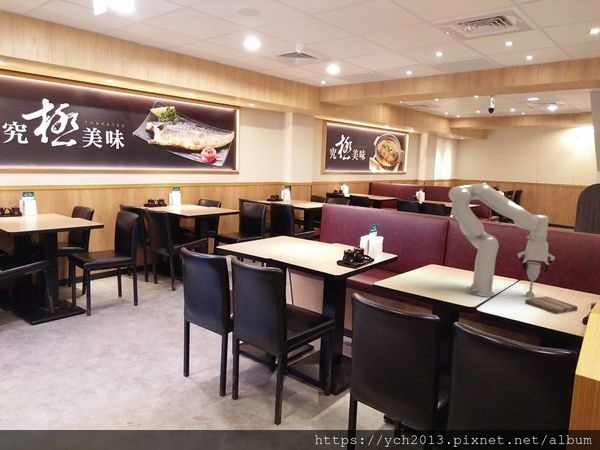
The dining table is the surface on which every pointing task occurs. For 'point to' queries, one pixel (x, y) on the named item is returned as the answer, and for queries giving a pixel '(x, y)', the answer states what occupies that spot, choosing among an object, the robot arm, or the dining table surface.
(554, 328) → the dining table surface
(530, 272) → the chalice
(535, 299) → the serving board
